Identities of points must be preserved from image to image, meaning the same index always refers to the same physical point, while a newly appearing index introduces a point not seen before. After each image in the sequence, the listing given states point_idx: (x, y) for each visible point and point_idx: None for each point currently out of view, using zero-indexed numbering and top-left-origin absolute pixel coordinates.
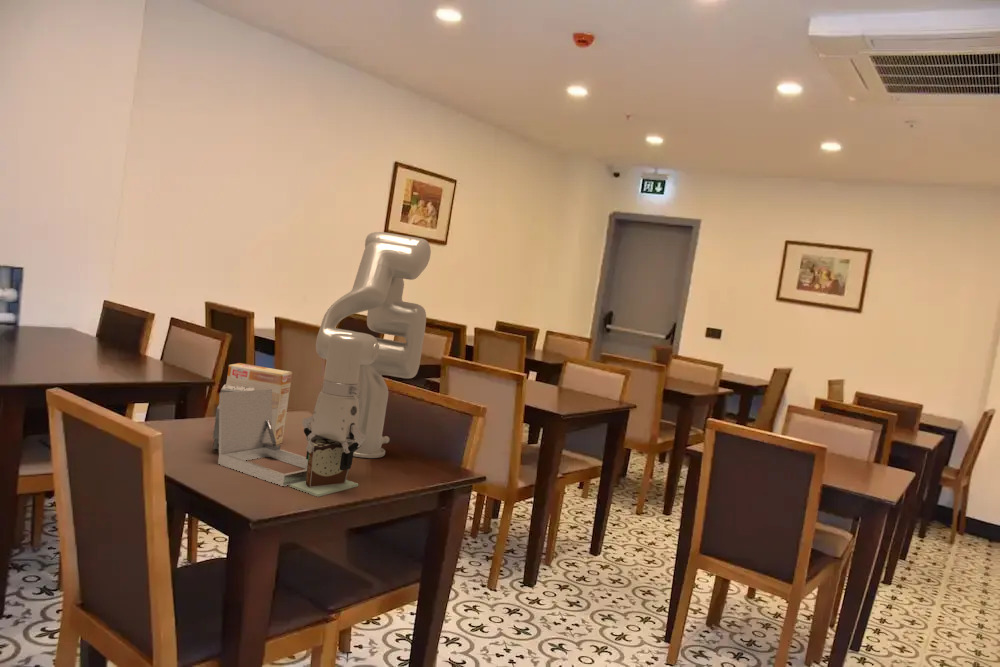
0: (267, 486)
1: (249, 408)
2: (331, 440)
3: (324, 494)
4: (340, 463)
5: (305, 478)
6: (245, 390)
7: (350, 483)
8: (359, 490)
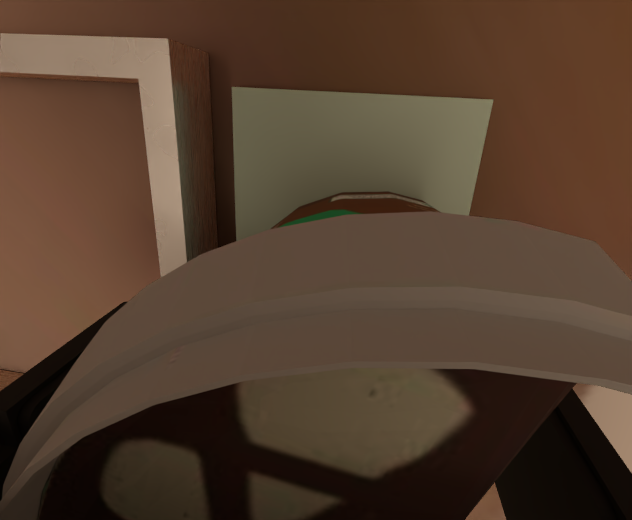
0: None
1: None
2: (138, 460)
3: None
4: (503, 501)
5: None
6: None
7: (443, 150)
8: (541, 178)
